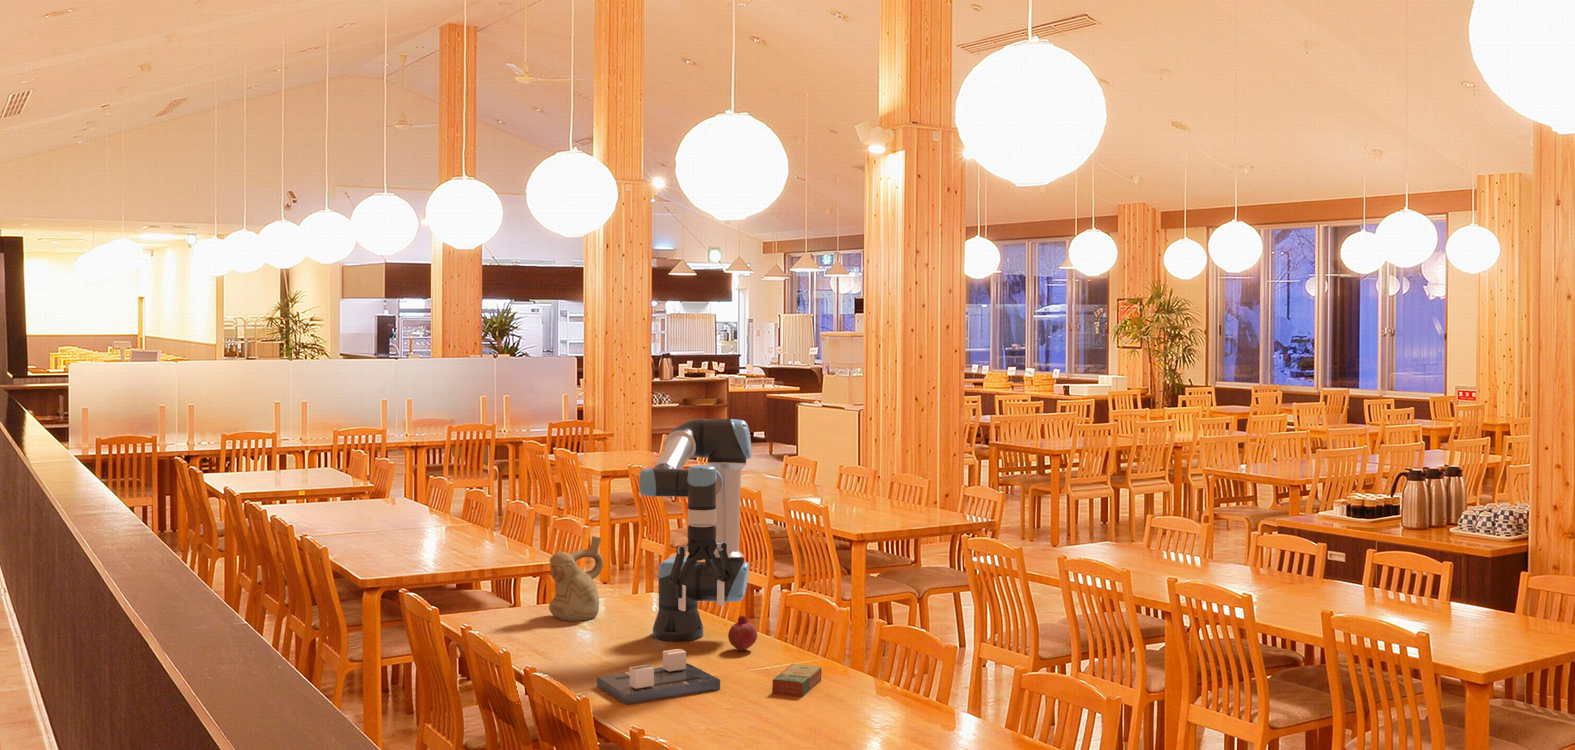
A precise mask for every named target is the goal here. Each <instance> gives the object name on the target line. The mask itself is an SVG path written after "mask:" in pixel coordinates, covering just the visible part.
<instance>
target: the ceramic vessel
mask: <svg viewBox="0 0 1575 750" xmlns="http://www.w3.org/2000/svg"><path fill="white" fill-rule="evenodd" d="M601 543H602V537H598V536H595V535H594V536H593V535H592V536H591V542H590V547H589V549H588V548H587V549H580V550H576V551H575V552H572V553H569V552H567V551H559V552H556V553H553V555H552V556H551V557H550V558H549V563H550V572H549V574H550V576H552V579H553V580H554V581H555V585H554V588H555V590H554V591H555V595H554V598H552V599H551V601H550V602H549V606H548V609H549V612H550V613H551V614H552V616H553V617H555V618H557V619H559V620H563V621H567V620H568V621H569V622H577V621H578V620H579V621H587V620H592V619H594V618H596V617H597V616H598V614H599V610H600V597H599V591H598V588H597V587H598V586H597V585H596V582H595V581H594V579H595V578H597V577H598V576H599V575H600V573H601V572H602V570H603V568H604V558H603V555H602V554H601V553H600V552H599V549H600V544H601ZM582 558H592V559H593V560H594V567H593V568H591V569H590V570H589V571H584V569H582V568H581V567H580V566H579V565H578V564H577V563H576V562H577V561H579V560H580V559H582ZM579 621H578V622H579Z"/></svg>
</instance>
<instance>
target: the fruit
mask: <svg viewBox="0 0 1575 750" xmlns="http://www.w3.org/2000/svg"><path fill="white" fill-rule="evenodd" d="M727 634H728V635H727V637H728V641H729V643H730V645H731V646H732V647H733V648H735V649H736V650H740V651H742V652H743V651H746V650H747V649H749V648H750V647H752V646H753V645H755V643H756V641H757V638H758V631H757V629H756V627H755V625H754V624H752V623H751V622H749V621H748V620H747V617H746V616H745V615H740V616H739V617H738V620H737V622H736V623H733V625H732V626H731V627H730V629H729V631H728V633H727Z"/></svg>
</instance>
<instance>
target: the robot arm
mask: <svg viewBox="0 0 1575 750" xmlns="http://www.w3.org/2000/svg"><path fill="white" fill-rule="evenodd" d="M691 458H701V459H702V458H704V459H707V465H706V464H705V465H704V464H703V465H701V464H700V465H699V464H698V465H692V466H689V468H684V467H685V466H686V464H687V462H688V460H690V459H691ZM751 458H752V439H751V434H750V428H749V425H748V423H747V422H746V421H745V420H744V419H743V420H742V419H736V418H735V419H734V418H696V419H694V418H693V419H690V420H688V421H684V422H683V423H681V424H679V425H677V426H676V427H674V428H672V430H671V431H670V432H669V433H668V434H667V435H666V437H665V439H664V442H663V450H662V452H661V453H660V456H659V457H658V459H657V461H656V463H655V465H654V466H653V468H652V467H650V468H642V469H641V471H640V472H639V478H638V479H639V480H638V487H639V492H640V493H639V494H641V496H644V497H651V498H655V497H663V498H665V497H671V498H674V497H677V498H681V497H682V498H687V524H688V526H687V544H686V545H683V546H682V545H677V546H676V549H675V551H676V553H675V556H674V557H670V558H667V559H664V560H663V561H661V562H660V563H659V566H658V576H657V578H658V610H657V614H656V616H655V620H654V623H653V626H652V637H653V638H655V639H657V640H661V641H669V642H680V641H681V642H684V641H685V642H686V641H692V640H697V639H700V638H702V637H704V625H703V622H702V619H701V615H700V613H699V610H698V609H699V606H698V605H699V602H716V605H717V606H719V607H725V603H734V602H741V601H742V600H743V599H744V597H745V596H746V591H747V587H748V582H749V574H750V564H749V562H747V561H745V555H744V554H743V553H742V552H741V550H740V535H741V533H740V530H741V528H740V527H741V525H740V524H741V523H740V521H741V485H742V484H741V483H742V481H741V479H742V478H741V476H742V473H741V472H742V470H743V468H744V467H745V466H746V465H747V460H749V459H751ZM687 552H688V555H686V554H687ZM703 560H704V561H703Z"/></svg>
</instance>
